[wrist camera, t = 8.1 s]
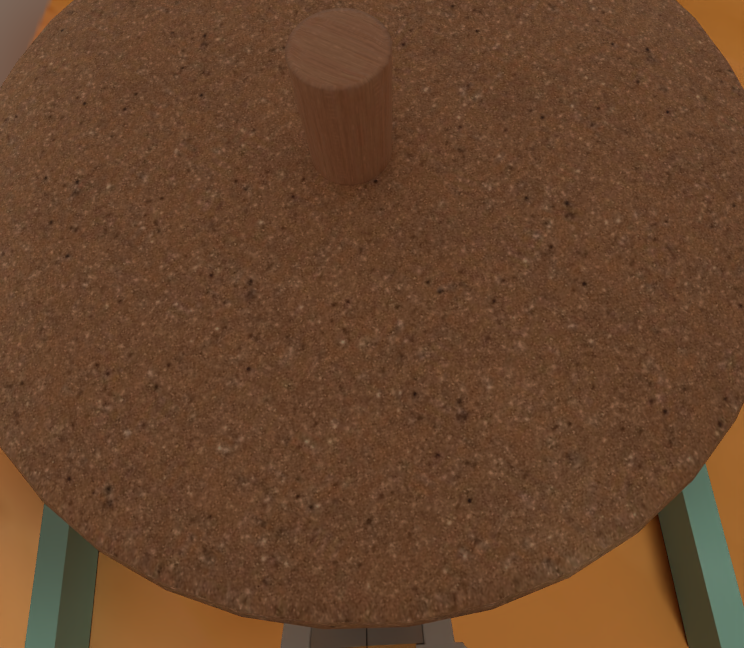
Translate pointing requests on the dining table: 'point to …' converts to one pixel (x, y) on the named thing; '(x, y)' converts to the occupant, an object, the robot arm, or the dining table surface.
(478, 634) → the dining table surface
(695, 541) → the teal u-shaped frame
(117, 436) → the lidded bowl
